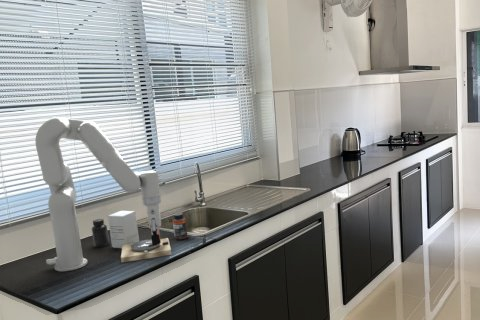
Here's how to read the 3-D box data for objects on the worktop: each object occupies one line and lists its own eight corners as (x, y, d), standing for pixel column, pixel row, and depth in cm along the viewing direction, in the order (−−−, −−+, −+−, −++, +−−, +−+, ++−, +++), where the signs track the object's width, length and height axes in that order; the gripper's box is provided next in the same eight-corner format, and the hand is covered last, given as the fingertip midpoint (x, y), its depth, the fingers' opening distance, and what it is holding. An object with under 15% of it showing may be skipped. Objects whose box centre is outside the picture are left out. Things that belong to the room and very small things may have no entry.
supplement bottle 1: (103, 242, 211) (99, 217, 209) (112, 243, 207) (109, 218, 205) (90, 246, 205) (87, 221, 204) (100, 248, 201) (96, 222, 200)
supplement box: (124, 241, 209) (120, 210, 207) (140, 242, 205) (136, 210, 203) (111, 247, 201) (106, 215, 199) (126, 249, 197) (122, 216, 195)
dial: (127, 252, 184) (125, 236, 183) (136, 243, 196) (134, 228, 195) (157, 250, 183) (155, 234, 182) (164, 241, 195) (162, 226, 194)
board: (121, 262, 179) (120, 256, 179) (123, 249, 197) (122, 243, 196) (171, 254, 183) (170, 248, 183) (168, 242, 201) (168, 236, 200)
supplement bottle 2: (181, 235, 210) (178, 211, 209) (190, 236, 206) (187, 212, 205) (172, 239, 205) (169, 215, 204) (180, 240, 202) (178, 216, 200)
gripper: (160, 203, 179) (165, 247, 182) (160, 195, 196) (164, 236, 198) (141, 205, 178) (146, 249, 180) (143, 197, 194) (147, 238, 197)
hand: (156, 242), depth 189 cm, fingers open, 3 cm apart
